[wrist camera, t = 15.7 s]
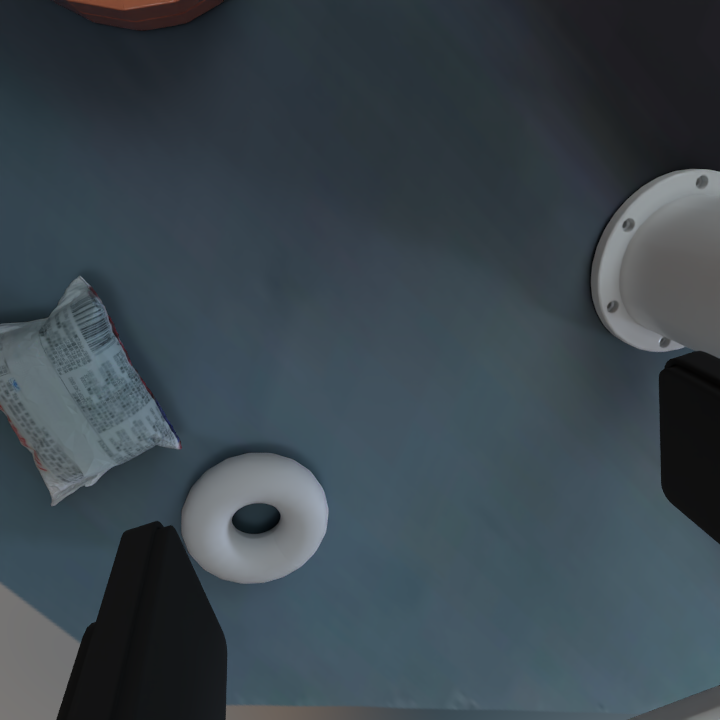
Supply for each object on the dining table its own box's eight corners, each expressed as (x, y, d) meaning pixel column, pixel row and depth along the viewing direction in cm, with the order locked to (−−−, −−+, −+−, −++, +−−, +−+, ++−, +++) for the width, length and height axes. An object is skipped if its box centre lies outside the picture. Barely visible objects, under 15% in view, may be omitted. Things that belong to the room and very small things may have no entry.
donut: (228, 418, 38) (156, 532, 39) (228, 443, 35) (149, 565, 36) (350, 477, 41) (279, 579, 43) (360, 504, 38) (282, 613, 40)
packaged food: (62, 480, 37) (39, 528, 32) (-48, 319, 32) (-95, 348, 28) (189, 429, 37) (182, 468, 33) (98, 263, 33) (76, 283, 28)
